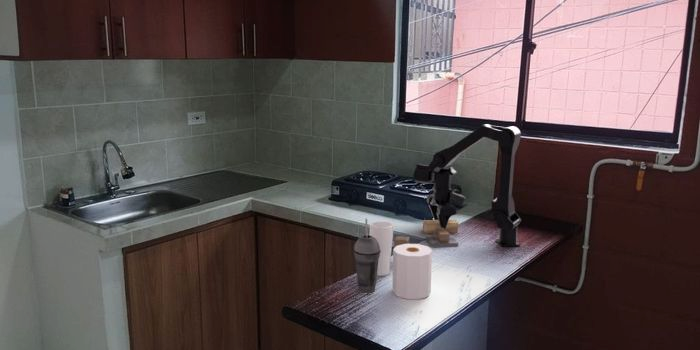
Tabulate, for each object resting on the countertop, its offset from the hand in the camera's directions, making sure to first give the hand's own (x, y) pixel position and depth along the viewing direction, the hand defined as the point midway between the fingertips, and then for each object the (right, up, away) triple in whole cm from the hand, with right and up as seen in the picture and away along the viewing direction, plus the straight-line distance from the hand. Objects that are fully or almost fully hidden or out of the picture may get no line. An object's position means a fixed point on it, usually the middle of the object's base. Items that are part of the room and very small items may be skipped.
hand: (440, 227), depth 209 cm
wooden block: (-17, -8, -31) cm, 37 cm away
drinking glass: (-24, -10, -40) cm, 48 cm away
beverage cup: (-28, -13, -53) cm, 61 cm away
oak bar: (0, -2, 0) cm, 2 cm away
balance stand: (-1, -4, -12) cm, 12 cm away
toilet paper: (-16, -13, -53) cm, 57 cm away
